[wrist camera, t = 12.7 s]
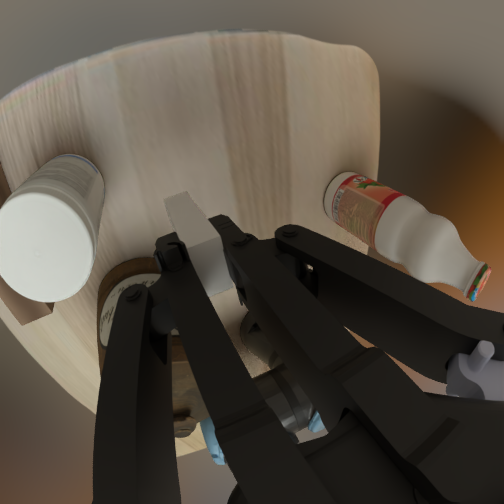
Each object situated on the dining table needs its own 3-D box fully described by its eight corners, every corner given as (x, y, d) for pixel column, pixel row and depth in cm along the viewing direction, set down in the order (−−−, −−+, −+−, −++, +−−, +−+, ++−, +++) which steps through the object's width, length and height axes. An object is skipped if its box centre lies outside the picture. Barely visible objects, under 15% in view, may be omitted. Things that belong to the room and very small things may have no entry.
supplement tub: (24, 179, 22) (-32, 232, 11) (85, 137, 24) (51, 160, 13) (60, 242, 28) (35, 321, 17) (119, 206, 30) (117, 273, 18)
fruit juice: (312, 199, 42) (463, 305, 20) (348, 159, 41) (503, 236, 19) (337, 230, 48) (460, 325, 26) (368, 193, 47) (495, 270, 25)
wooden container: (195, 253, 38) (265, 381, 21) (190, 328, 45) (240, 442, 28) (90, 259, 31) (86, 411, 14) (105, 337, 38) (125, 464, 21)
